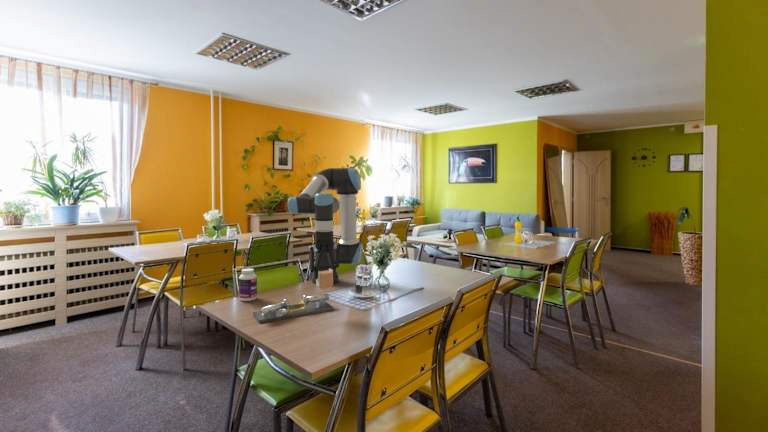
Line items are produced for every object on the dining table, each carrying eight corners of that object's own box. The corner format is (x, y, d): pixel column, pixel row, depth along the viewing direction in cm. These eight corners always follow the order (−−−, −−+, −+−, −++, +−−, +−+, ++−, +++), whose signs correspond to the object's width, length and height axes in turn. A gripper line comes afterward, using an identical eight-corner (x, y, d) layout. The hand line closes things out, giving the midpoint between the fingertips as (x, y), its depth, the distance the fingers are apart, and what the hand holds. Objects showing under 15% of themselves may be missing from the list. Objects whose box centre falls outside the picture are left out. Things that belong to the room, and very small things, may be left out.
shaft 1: (282, 310, 157) (282, 297, 156) (289, 313, 154) (289, 300, 153) (259, 318, 148) (258, 304, 147) (266, 320, 145) (265, 306, 144)
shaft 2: (305, 309, 159) (305, 296, 158) (301, 306, 163) (301, 293, 162) (329, 305, 165) (329, 292, 164) (325, 302, 169) (325, 290, 168)
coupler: (327, 284, 159) (327, 270, 158) (332, 286, 154) (332, 272, 154) (316, 285, 156) (316, 271, 155) (321, 288, 152) (321, 274, 151)
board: (324, 303, 172) (324, 294, 171) (333, 309, 162) (333, 300, 162) (252, 315, 155) (252, 305, 155) (259, 323, 146) (258, 312, 145)
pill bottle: (253, 302, 172) (252, 271, 171) (236, 301, 172) (235, 271, 171) (259, 296, 180) (259, 267, 179) (243, 296, 180) (242, 267, 179)
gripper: (340, 228, 161) (340, 280, 163) (300, 230, 151) (300, 286, 154) (347, 230, 155) (347, 284, 157) (306, 232, 145) (307, 290, 147)
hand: (324, 285), depth 155 cm, fingers closed on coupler, 5 cm apart
